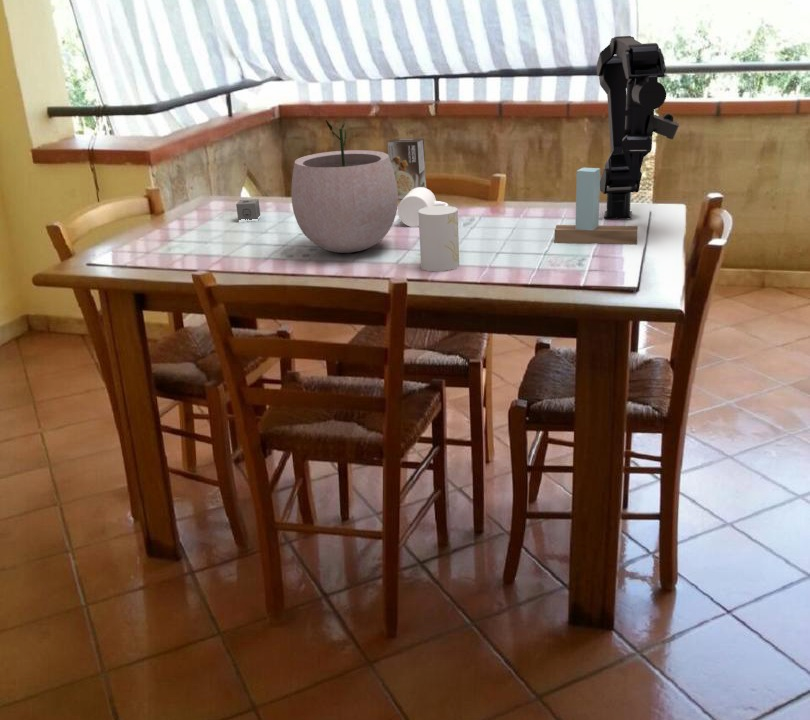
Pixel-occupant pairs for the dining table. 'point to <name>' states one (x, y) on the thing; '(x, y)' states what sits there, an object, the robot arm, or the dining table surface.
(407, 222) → the mug
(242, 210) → the dice cube
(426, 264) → the white cylinder
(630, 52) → the robot arm
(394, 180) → the plant pot
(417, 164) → the coffee box
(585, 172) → the post
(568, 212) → the dining table surface
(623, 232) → the beam
